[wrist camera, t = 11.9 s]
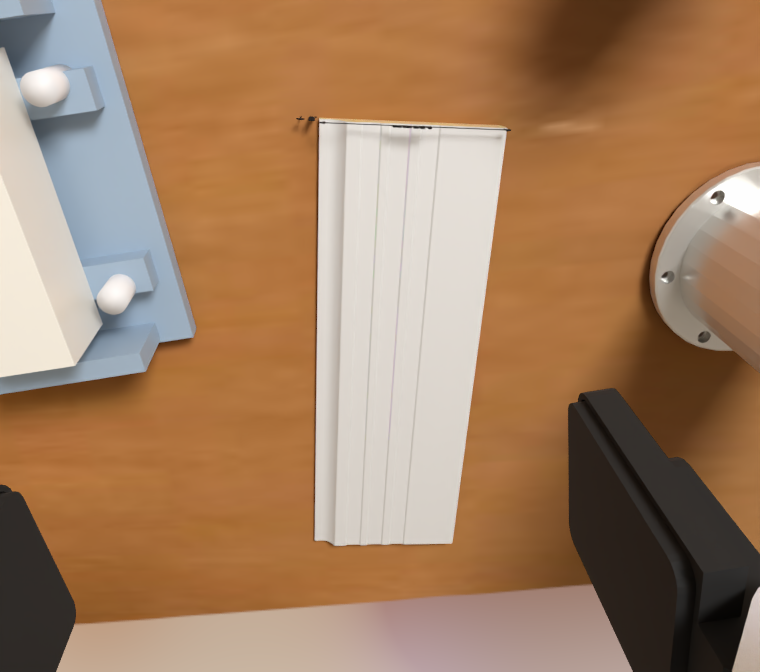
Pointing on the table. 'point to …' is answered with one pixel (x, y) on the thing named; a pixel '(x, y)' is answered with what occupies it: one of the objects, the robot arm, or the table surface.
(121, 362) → the rack
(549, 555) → the table surface
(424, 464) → the grooved white panel
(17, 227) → the clay bar
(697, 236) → the robot arm
